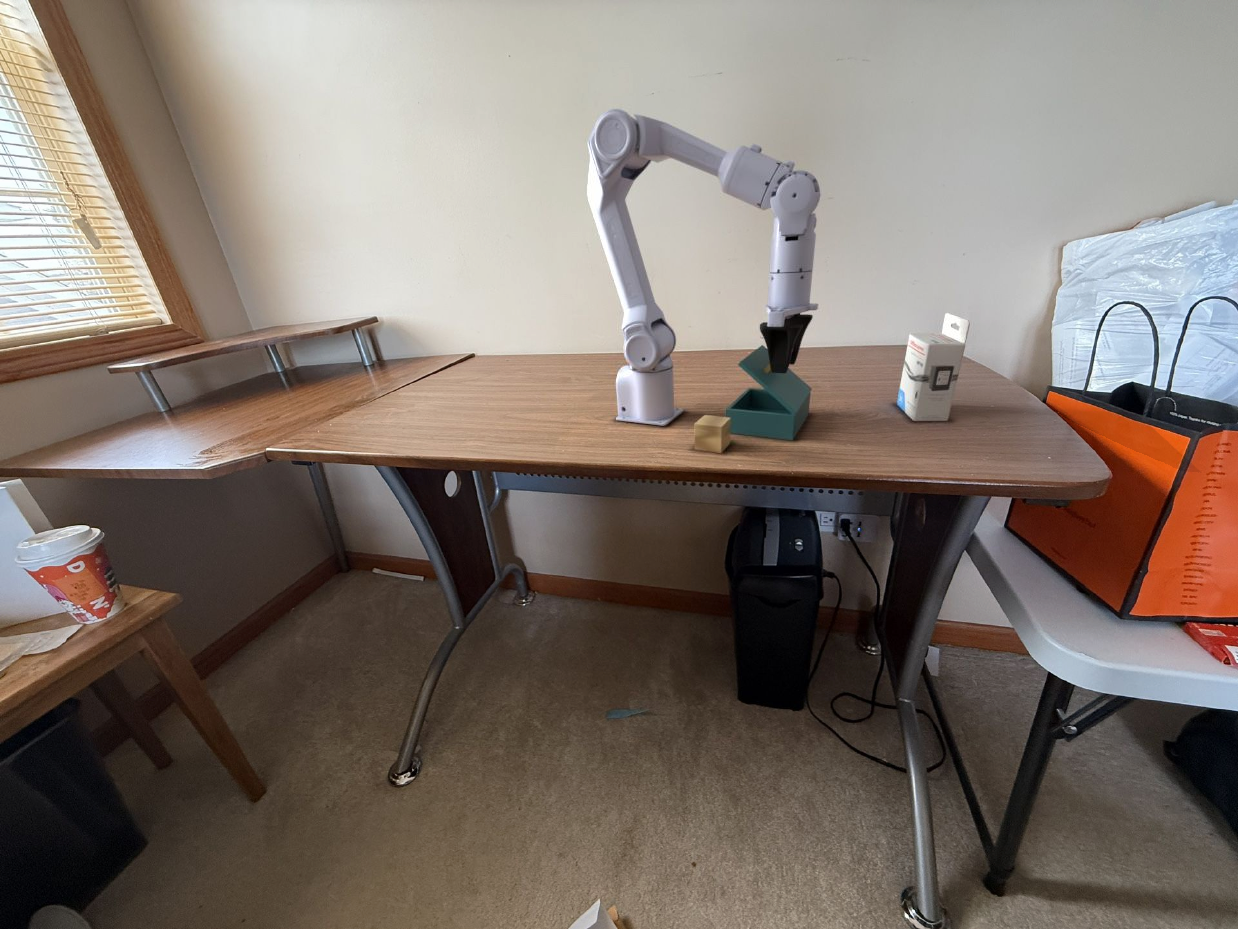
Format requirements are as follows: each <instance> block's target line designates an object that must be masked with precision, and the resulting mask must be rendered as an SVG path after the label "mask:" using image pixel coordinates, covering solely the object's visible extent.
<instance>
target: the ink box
mask: <svg viewBox="0 0 1238 929" xmlns="http://www.w3.org/2000/svg"><path fill="white" fill-rule="evenodd" d="M970 324H971V322H970V320H968V319H966V318H963V317H960V316H957V315H955V314H951V313H949V312H946V313H945V314H944V319H943V324H942V330H941V332H939V333H938V332H937V333H935V332H933V333H910V334H909V336H908V341H907V346H906V351H905V356H904V362H903V368H902V374H901V379H900V385H899V389H898V396H897V402H896V405H897V406H898V407H899V408H900V409H901V410H902V411H903V412H904V413H905V414H906V415H907V416H908V417H909V418H910V419H911V420H912V421H914V422H948V420H949V418H950V413H951V409H952V404H953V400H954V395H955V390H956V387H957V383H958V380H959V379H958V378H959V374H960V370H961V366H962V363H963V362H962V361H963V357H964V354H965V348H966V342H967V338H968V334H969V331H970ZM953 325H956V326H957V327H958V329H956V328H954V327H953Z"/></svg>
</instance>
